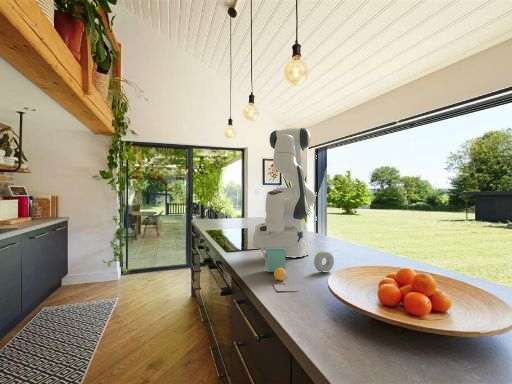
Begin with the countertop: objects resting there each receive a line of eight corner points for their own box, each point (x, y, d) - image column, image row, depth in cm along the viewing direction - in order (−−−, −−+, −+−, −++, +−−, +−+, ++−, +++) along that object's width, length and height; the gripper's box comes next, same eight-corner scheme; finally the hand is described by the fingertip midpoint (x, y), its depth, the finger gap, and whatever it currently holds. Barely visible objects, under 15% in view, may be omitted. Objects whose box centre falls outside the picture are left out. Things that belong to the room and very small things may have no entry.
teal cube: (265, 266, 119) (265, 247, 119) (281, 266, 120) (281, 247, 120) (267, 271, 112) (268, 251, 112) (285, 271, 113) (285, 251, 113)
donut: (330, 270, 120) (330, 248, 120) (335, 272, 117) (335, 250, 117) (312, 272, 116) (312, 250, 116) (316, 274, 113) (316, 252, 113)
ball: (272, 278, 108) (272, 266, 108) (284, 277, 109) (284, 266, 109) (275, 282, 103) (275, 269, 103) (287, 281, 104) (287, 269, 104)
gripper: (295, 225, 121) (295, 255, 120) (252, 226, 118) (252, 256, 118) (299, 227, 114) (299, 258, 114) (253, 227, 112) (253, 259, 112)
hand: (275, 257), depth 116 cm, fingers closed on teal cube, 8 cm apart
